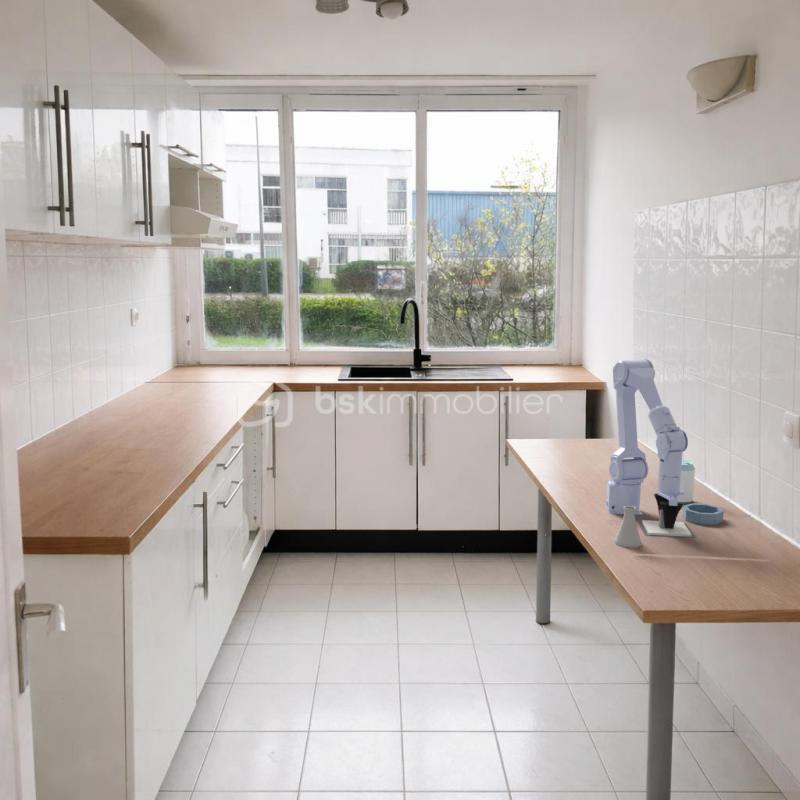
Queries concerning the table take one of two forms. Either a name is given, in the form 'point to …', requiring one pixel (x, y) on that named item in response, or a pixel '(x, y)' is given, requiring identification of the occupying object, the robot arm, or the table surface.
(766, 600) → the table surface
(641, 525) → the mat
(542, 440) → the table surface
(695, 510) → the bowl
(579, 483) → the table surface
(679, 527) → the lid
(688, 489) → the can
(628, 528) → the flask
